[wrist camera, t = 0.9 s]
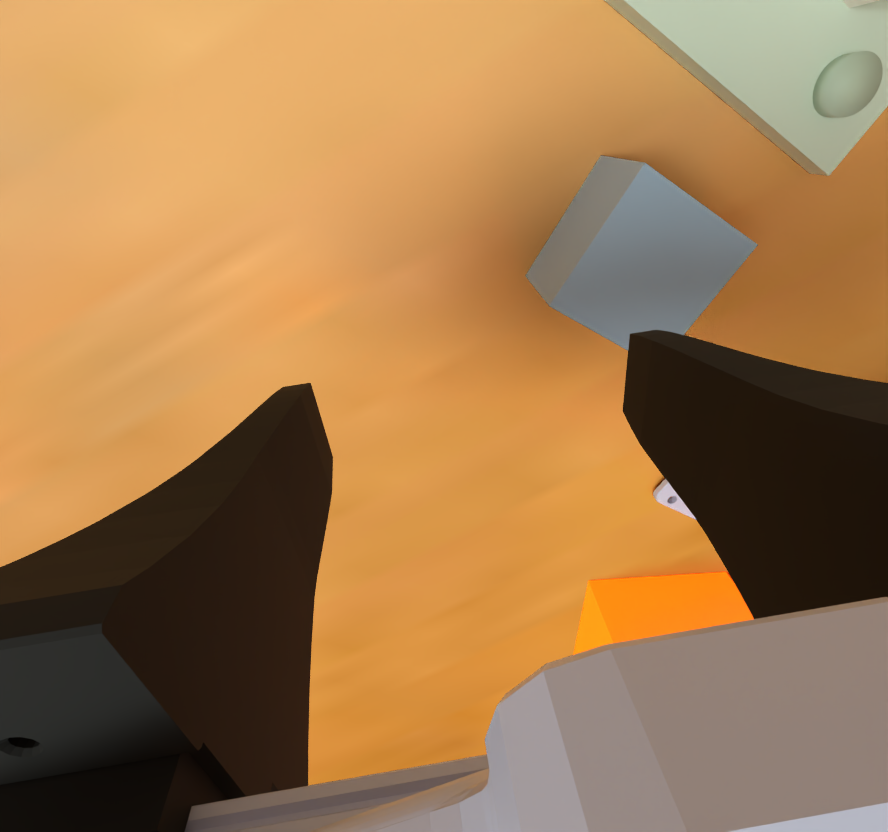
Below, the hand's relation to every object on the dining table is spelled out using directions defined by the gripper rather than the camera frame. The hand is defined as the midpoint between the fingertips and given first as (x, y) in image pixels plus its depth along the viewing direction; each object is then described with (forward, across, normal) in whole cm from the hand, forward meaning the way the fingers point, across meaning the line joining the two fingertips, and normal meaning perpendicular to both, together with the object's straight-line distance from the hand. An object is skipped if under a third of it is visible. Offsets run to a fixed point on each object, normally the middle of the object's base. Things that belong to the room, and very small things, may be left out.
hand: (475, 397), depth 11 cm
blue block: (+10, -7, 0) cm, 12 cm away
